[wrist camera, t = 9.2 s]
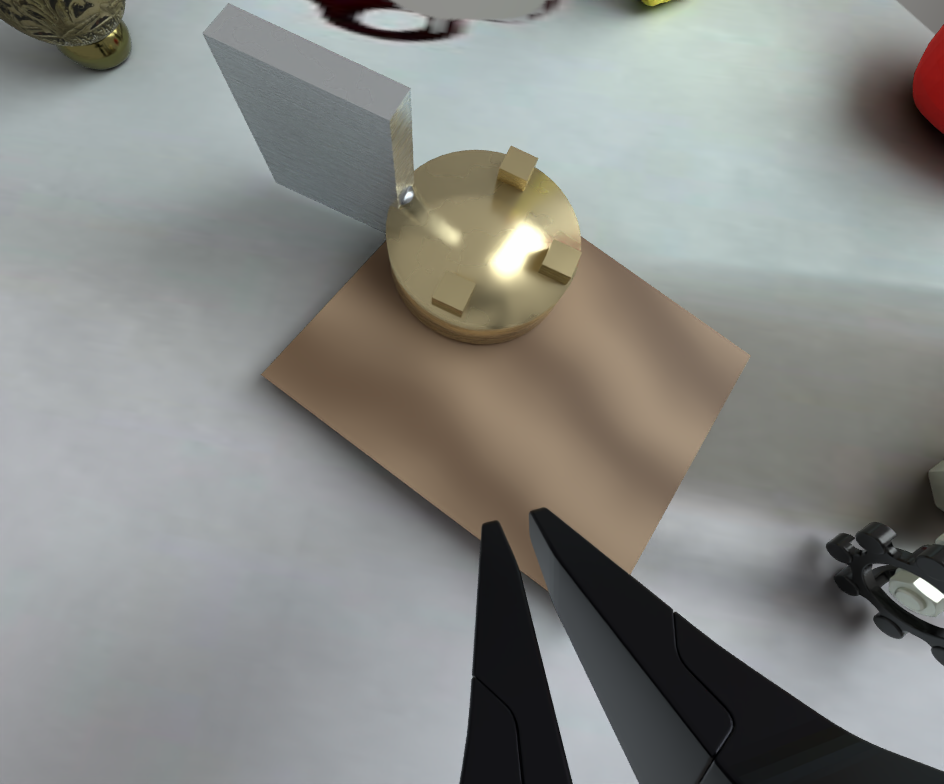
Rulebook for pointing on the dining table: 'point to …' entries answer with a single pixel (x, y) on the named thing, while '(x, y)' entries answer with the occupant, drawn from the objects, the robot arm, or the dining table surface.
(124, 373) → the dining table surface
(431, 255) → the ring nut spanner
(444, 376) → the walnut base
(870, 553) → the valve
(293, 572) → the dining table surface
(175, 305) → the dining table surface
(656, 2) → the bottle
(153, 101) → the dining table surface
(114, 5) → the cup
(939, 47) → the tomato
